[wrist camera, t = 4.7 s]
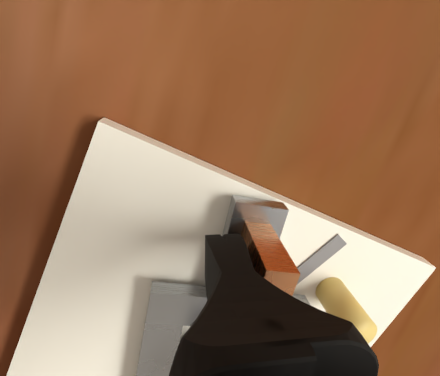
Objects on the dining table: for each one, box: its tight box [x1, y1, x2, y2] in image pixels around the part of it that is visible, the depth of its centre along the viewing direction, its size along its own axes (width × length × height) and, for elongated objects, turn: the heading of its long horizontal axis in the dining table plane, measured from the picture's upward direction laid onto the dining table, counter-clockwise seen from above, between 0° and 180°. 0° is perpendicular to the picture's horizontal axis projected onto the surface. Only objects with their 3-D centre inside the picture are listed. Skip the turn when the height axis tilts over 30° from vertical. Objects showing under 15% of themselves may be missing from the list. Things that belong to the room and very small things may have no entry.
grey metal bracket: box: [136, 195, 310, 376], centre depth 14 cm, size 13×8×4 cm, turn 167°
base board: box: [6, 117, 436, 376], centre depth 15 cm, size 19×18×5 cm
